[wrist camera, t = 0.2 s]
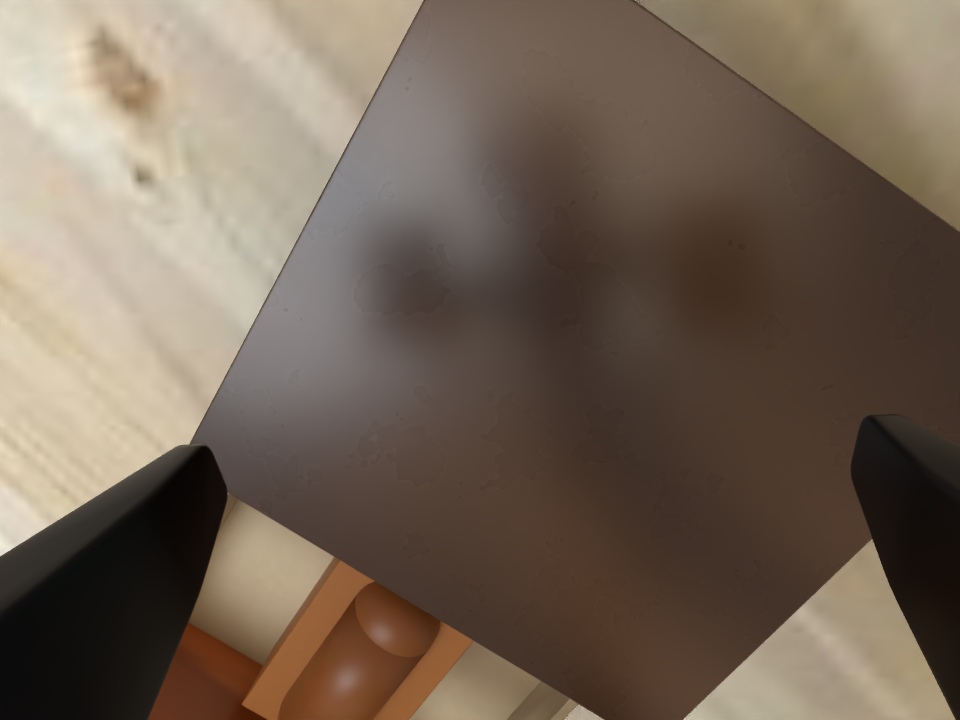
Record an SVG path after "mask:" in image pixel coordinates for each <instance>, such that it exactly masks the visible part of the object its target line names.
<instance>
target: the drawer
mask: <svg viewBox="0 0 960 720" xmlns="http://www.w3.org/2000/svg"><path fill="white" fill-rule="evenodd" d="M333 558H334V556H332V555H330V554H329V553H327V552H325V551H324V550H322V549H320V548H319V547H317V546H315V545H314V544H312V543H311V542H309V541H307V540H306V539H304V538H302V537H301V536H299V535H297V534H296V533H294V532H292V531H291V530H289V529H287V528H286V527H284V526H282V525H281V524H279V523H277V522H276V521H274V520H272V519H271V518H269V517H267V516H266V515H264V514H262V513H261V512H259V511H257V510H256V509H254V508H252V507H251V506H249V505H247V504H246V503H244V502H242V501H241V500H239V499H237V498H236V497H234V496H232V495H231V494H229V493H228V498H227V504H226V507H225V511H224V514H223V517H222V521H221V524H220V528H219V531H218V534H217V538H216V541H215V545H214V548H213V551H212V555H211V558H210V562H209V565H208V568H207V572H206V575H205V579H204V582H203V585H202V588H201V591H200V594H199V597H198V599H197V602H196V604H195V607H194V610H193V612H192V615H191V617H190V619H189V622H188V624H187V627H186V629H185V632H184V634H183V636H182V639H181V641H180V644H179V646H178V648H177V651H176V653H175V656H174V658H173V660H172V663H171V665H170V668H169V670H168V673H167V675H166V677H165V680H164V682H163V685H162V687H161V689H160V692H159V694H158V697H157V699H156V702H155V704H154V706H153V709H152V711H151V714H150V716H149V718H148V720H267V719H266V718H264V717H262V716H260V715H259V714H257V713H255V712H253V711H252V710H250V709H248V708H246V707H245V706H243V705H242V702H243V700H244V699H245V697H246V695H247V693H248V692H249V690H250V688H251V686H252V684H253V683H254V681H255V679H256V677H257V676H258V674H259V672H260V670H261V668H262V667H263V665H264V663H265V661H266V660H267V658H268V656H269V654H270V653H271V651H272V649H273V647H274V645H275V644H276V643H277V641H278V640H279V638H280V637H281V635H282V634H283V632H284V631H285V629H286V628H287V626H288V625H289V623H290V622H291V620H292V619H293V617H294V616H295V614H296V613H297V611H298V610H299V608H300V607H301V605H302V604H303V602H304V601H305V599H306V598H307V597H308V595H309V594H310V592H311V591H312V589H313V588H314V586H315V585H316V583H317V582H318V580H319V579H320V577H321V576H322V574H323V573H324V571H325V570H326V568H327V567H328V565H329V564H330V562H331V561H332V559H333ZM577 705H578V703H576V702H575V701H573V700H571V699H570V698H568V697H566V696H565V695H563V694H561V693H560V692H558V691H556V690H555V689H553V688H551V687H550V686H548V685H546V684H545V683H543V682H541V681H540V680H538V679H536V678H535V677H533V676H531V675H530V674H528V673H526V672H525V671H523V670H521V669H520V668H518V667H516V666H515V665H513V664H511V663H510V662H508V661H506V660H505V659H503V658H501V657H500V656H498V655H496V654H495V653H493V652H491V651H490V650H488V649H487V648H485V647H483V646H482V645H480V644H478V643H477V642H475V641H473V643H472V644H471V645H470V646H469V647H468V649H467V650H466V651H465V652H464V654H463V655H462V656H461V657H460V658H459V660H458V661H457V662H456V663H455V664H454V666H453V667H452V668H451V669H450V671H449V672H448V673H447V674H446V675H445V677H444V678H443V679H442V680H441V681H440V683H439V684H438V685H437V686H436V688H435V689H434V690H433V691H432V692H431V694H430V695H429V696H428V697H427V698H426V700H425V701H424V702H423V703H422V705H421V706H420V707H419V708H418V709H417V711H416V712H415V713H414V714H413V715H412V717H411V718H410V719H409V720H564V718H565V717H566V716H567V715H568V714H569V713H570V712H571V711H572V710H573V709H574V708H575V707H576V706H577Z"/></svg>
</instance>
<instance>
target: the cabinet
mask: <svg viewBox="0 0 960 720" xmlns="http://www.w3.org/2000/svg"><path fill="white" fill-rule="evenodd" d="M881 414H899V415H903V416H905V417H907V418H909V419H911V420H913V421H914V422H916V423H918V424H920V425H922V426H924V427H926V428H928V429H930V430H932V431H934V432H936V433H937V434H939V435H941V436H943V437H945V438H947V439H949V440H951V441H953V442H955V443H957V444H959V445H960V231H958V230H957V229H955V228H954V227H953V226H951V225H950V224H948V223H947V222H945V221H944V220H943V219H941V218H940V217H938V216H937V215H936V214H934V213H933V212H931V211H930V210H929V209H927V208H926V207H924V206H923V205H922V204H920V203H919V202H917V201H916V200H915V199H913V198H912V197H910V196H909V195H907V194H906V193H905V192H903V191H902V190H900V189H899V188H898V187H896V186H895V185H893V184H892V183H891V182H889V181H888V180H886V179H885V178H884V177H882V176H881V175H879V174H878V173H877V172H875V171H874V170H872V169H871V168H870V167H868V166H867V165H865V164H864V163H862V162H861V161H860V160H858V159H857V158H855V157H854V156H853V155H851V154H850V153H848V152H847V151H846V150H844V149H843V148H841V147H840V146H839V145H837V144H836V143H834V142H833V141H832V140H830V139H829V138H827V137H826V136H824V135H823V134H822V133H820V132H819V131H817V130H816V129H815V128H813V127H812V126H810V125H809V124H808V123H806V122H805V121H803V120H802V119H801V118H799V117H798V116H796V115H795V114H794V113H792V112H791V111H789V110H788V109H786V108H785V107H784V106H782V105H781V104H779V103H778V102H777V101H775V100H774V99H772V98H771V97H770V96H768V95H767V94H765V93H764V92H763V91H761V90H760V89H758V88H757V87H756V86H754V85H753V84H751V83H750V82H749V81H747V80H746V79H744V78H743V77H741V76H740V75H739V74H737V73H736V72H734V71H733V70H732V69H730V68H729V67H727V66H726V65H725V64H723V63H722V62H720V61H719V60H718V59H716V58H715V57H713V56H712V55H711V54H709V53H708V52H706V51H705V50H703V49H702V48H701V47H699V46H698V45H696V44H695V43H694V42H692V41H691V40H689V39H688V38H687V37H685V36H684V35H682V34H681V33H680V32H678V31H677V30H675V29H674V28H673V27H671V26H670V25H668V24H667V23H666V22H664V21H663V20H661V19H660V18H658V17H657V16H656V15H654V14H653V13H651V12H650V11H649V10H647V9H646V8H644V7H643V6H642V5H640V4H639V3H637V2H636V1H635V0H424V1H423V3H422V4H421V6H420V8H419V10H418V12H417V14H416V16H415V18H414V20H413V21H412V23H411V25H410V27H409V29H408V31H407V33H406V35H405V37H404V39H403V40H402V42H401V44H400V46H399V48H398V50H397V52H396V54H395V56H394V57H393V59H392V61H391V63H390V65H389V67H388V69H387V71H386V73H385V75H384V76H383V78H382V80H381V82H380V84H379V86H378V88H377V90H376V92H375V93H374V95H373V97H372V99H371V101H370V103H369V105H368V107H367V109H366V111H365V112H364V114H363V116H362V118H361V120H360V122H359V124H358V126H357V128H356V129H355V131H354V133H353V135H352V137H351V139H350V141H349V143H348V145H347V147H346V148H345V150H344V152H343V154H342V156H341V158H340V160H339V162H338V164H337V165H336V167H335V169H334V171H333V173H332V175H331V177H330V179H329V181H328V183H327V184H326V186H325V188H324V190H323V192H322V194H321V196H320V198H319V200H318V202H317V203H316V205H315V207H314V209H313V211H312V213H311V215H310V217H309V219H308V220H307V222H306V224H305V226H304V228H303V230H302V232H301V234H300V236H299V238H298V239H297V241H296V243H295V245H294V247H293V249H292V251H291V253H290V255H289V256H288V258H287V260H286V262H285V264H284V266H283V268H282V270H281V272H280V274H279V275H278V277H277V279H276V281H275V283H274V285H273V287H272V289H271V291H270V292H269V294H268V296H267V298H266V300H265V302H264V304H263V306H262V308H261V310H260V311H259V313H258V315H257V317H256V319H255V321H254V323H253V325H252V327H251V328H250V330H249V332H248V334H247V336H246V338H245V340H244V342H243V344H242V346H241V347H240V349H239V351H238V353H237V355H236V357H235V359H234V361H233V363H232V364H231V366H230V368H229V370H228V372H227V374H226V376H225V378H224V380H223V382H222V383H221V385H220V387H219V389H218V391H217V393H216V395H215V397H214V399H213V400H212V402H211V404H210V406H209V408H208V410H207V412H206V414H205V416H204V418H203V419H202V421H201V423H200V425H199V427H198V429H197V431H196V433H195V435H194V436H193V438H192V440H191V442H190V444H189V445H194V444H204V445H207V446H208V447H209V448H210V449H211V450H212V452H213V454H214V456H215V459H216V461H217V464H218V466H219V469H220V471H221V473H222V476H223V478H224V481H225V483H226V486H227V491H228V493H229V494H231V495H232V496H234V497H236V498H237V499H239V500H241V501H242V502H244V503H246V504H247V505H249V506H251V507H252V508H254V509H256V510H257V511H259V512H261V513H262V514H264V515H266V516H267V517H269V518H271V519H272V520H274V521H276V522H277V523H279V524H281V525H282V526H284V527H286V528H287V529H289V530H291V531H292V532H294V533H296V534H297V535H299V536H301V537H302V538H304V539H306V540H307V541H309V542H311V543H312V544H314V545H315V546H317V547H319V548H320V549H322V550H324V551H325V552H327V553H329V554H330V555H332V556H334V557H335V558H337V559H339V560H340V561H342V562H344V563H345V564H347V565H349V566H350V567H352V568H354V569H355V570H357V571H359V572H360V573H362V574H364V575H365V576H367V577H369V578H370V579H372V580H374V581H375V582H377V583H379V584H380V585H382V586H384V587H385V588H387V589H389V590H390V591H392V592H394V593H395V594H397V595H399V596H400V597H402V598H403V599H405V600H407V601H408V602H410V603H412V604H413V605H415V606H417V607H418V608H420V609H422V610H423V611H425V612H427V613H428V614H430V615H432V616H433V617H435V618H437V619H438V620H440V621H442V622H443V623H445V624H447V625H448V626H450V627H452V628H453V629H455V630H457V631H458V632H460V633H462V634H463V635H465V636H467V637H468V638H470V639H472V640H473V641H475V642H477V643H478V644H480V645H482V646H483V647H485V648H487V649H488V650H490V651H491V652H493V653H495V654H496V655H498V656H500V657H501V658H503V659H505V660H506V661H508V662H510V663H511V664H513V665H515V666H516V667H518V668H520V669H521V670H523V671H525V672H526V673H528V674H530V675H531V676H533V677H535V678H536V679H538V680H540V681H541V682H543V683H545V684H546V685H548V686H550V687H551V688H553V689H555V690H556V691H558V692H560V693H561V694H563V695H565V696H566V697H568V698H570V699H571V700H573V701H575V702H576V703H578V704H579V705H581V706H583V707H584V708H586V709H588V710H589V711H591V712H593V713H594V714H596V715H598V716H599V717H601V718H603V719H604V720H683V719H684V718H685V717H686V716H687V715H688V714H689V713H690V712H691V711H692V710H693V709H694V708H695V707H696V706H697V705H698V704H700V703H701V702H702V701H703V700H704V699H705V698H706V697H707V696H708V695H709V694H710V693H711V692H712V691H713V690H714V689H715V688H716V687H717V686H718V685H719V684H720V683H721V682H723V681H724V680H725V679H726V678H727V677H728V676H729V675H730V674H731V673H732V672H733V671H734V670H735V669H736V668H737V667H738V666H739V665H740V664H741V663H742V662H743V661H745V660H746V659H747V658H748V657H749V656H750V655H751V654H752V653H753V652H754V651H755V650H756V649H757V648H758V647H759V646H760V645H761V644H762V643H763V642H764V641H765V640H766V639H768V638H769V637H770V636H771V635H772V634H773V633H774V632H775V631H776V630H777V629H778V628H779V627H780V626H781V625H782V624H783V623H784V622H785V621H786V620H787V619H788V618H789V617H791V616H792V615H793V614H794V613H795V612H796V611H797V610H798V609H799V608H800V607H801V606H802V605H803V604H804V603H805V602H806V601H807V600H808V599H809V598H810V597H811V596H812V595H814V594H815V593H816V592H817V591H818V590H819V589H820V588H821V587H822V586H823V585H824V584H825V583H826V582H827V581H828V580H829V579H830V578H831V577H832V576H833V575H834V574H835V573H837V572H838V571H839V570H840V569H841V568H842V567H843V566H844V565H845V564H846V563H847V562H848V561H849V560H850V559H851V558H852V557H853V556H854V555H855V554H856V553H857V552H858V551H860V550H861V549H862V548H863V547H864V546H865V545H866V544H867V543H868V542H869V541H870V540H871V539H872V536H871V533H870V530H869V527H868V524H867V522H866V519H865V516H864V513H863V510H862V508H861V505H860V502H859V499H858V496H857V494H856V491H855V488H854V485H853V482H852V478H851V461H852V457H853V452H854V448H855V444H856V440H857V435H858V431H859V427H860V424H861V422H862V420H863V418H865V417H866V416H868V415H881Z"/></svg>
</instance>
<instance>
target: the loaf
mask: <svg viewBox="0 0 960 720" xmlns="http://www.w3.org/2000/svg"><path fill="white" fill-rule="evenodd" d="M472 643H473V640H472V639H470V638H468V637H467V636H465V635H463V634H462V633H460V632H458V631H457V630H455V629H453V628H452V627H450V626H448V625H447V624H445V623H443V622H442V621H440V620H438V619H437V618H435V617H433V616H432V615H430V614H428V613H427V612H425V611H423V610H422V609H420V608H418V607H417V606H415V605H413V604H412V603H410V602H408V601H407V600H405V599H403V598H402V597H400V596H399V595H397V594H395V593H394V592H392V591H390V590H389V589H387V588H385V587H384V586H382V585H380V584H379V583H377V582H375V581H374V580H372V579H370V578H369V577H367V576H365V575H364V574H362V573H360V572H359V571H357V570H355V569H354V568H352V567H350V566H349V565H347V564H345V563H344V562H342V561H340V560H339V559H337V558H335V557H334V558H333V559H332V561H331V562H330V564H329V565H328V567H327V568H326V570H325V571H324V573H323V574H322V576H321V577H320V579H319V580H318V582H317V583H316V585H315V586H314V588H313V589H312V591H311V592H310V594H309V595H308V597H307V598H306V599H305V601H304V602H303V604H302V605H301V607H300V608H299V610H298V611H297V613H296V614H295V616H294V617H293V619H292V620H291V622H290V623H289V625H288V626H287V628H286V629H285V631H284V632H283V634H282V635H281V637H280V638H279V640H278V641H277V643H276V644H275V645H274V647H273V649H272V651H271V653H270V654H269V656H268V658H267V660H266V661H265V663H264V665H263V667H262V668H261V670H260V672H259V674H258V676H257V677H256V679H255V681H254V683H253V684H252V686H251V688H250V690H249V692H248V693H247V695H246V697H245V699H244V700H243V702H242V705H243V706H245V707H246V708H248V709H250V710H252V711H253V712H255V713H257V714H259V715H260V716H262V717H264V718H266V719H267V720H409V719H410V718H411V717H412V715H413V714H414V713H415V712H416V711H417V709H418V708H419V707H420V706H421V705H422V703H423V702H424V701H425V700H426V698H427V697H428V696H429V695H430V694H431V692H432V691H433V690H434V689H435V688H436V686H437V685H438V684H439V683H440V681H441V680H442V679H443V678H444V677H445V675H446V674H447V673H448V672H449V671H450V669H451V668H452V667H453V666H454V664H455V663H456V662H457V661H458V660H459V658H460V657H461V656H462V655H463V654H464V652H465V651H466V650H467V649H468V647H469V646H470V645H471V644H472Z"/></svg>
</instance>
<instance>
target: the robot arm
mask: <svg viewBox="0 0 960 720" xmlns="http://www.w3.org/2000/svg"><path fill="white" fill-rule="evenodd" d="M851 478H852V482H853V485H854V488H855V491H856V494H857V496H858V499H859V502H860V505H861V508H862V510H863V513H864V516H865V519H866V522H867V524H868V527H869V530H870V533H871V536H872V538H873V541H874V544H875V547H876V550H877V552H878V555H879V558H880V561H881V564H882V566H883V569H884V572H885V574H886V577H887V579H888V582H889V585H890V587H891V589H892V591H893V593H894V596H895V598H896V600H897V602H898V604H899V606H900V608H901V610H902V612H903V614H904V616H905V618H906V620H907V622H908V624H909V626H910V628H911V630H912V632H913V634H914V637H915V639H916V641H917V643H918V645H919V647H920V649H921V651H922V653H923V655H924V657H925V659H926V661H927V663H928V665H929V667H930V669H931V671H932V673H933V675H934V677H935V679H936V681H937V683H938V685H939V687H940V689H941V691H942V693H943V695H944V697H945V699H946V701H947V703H948V705H949V707H950V709H951V711H952V713H953V715H954V717H955V719H956V720H960V445H959V444H957V443H955V442H953V441H951V440H949V439H947V438H945V437H943V436H941V435H939V434H937V433H936V432H934V431H932V430H930V429H928V428H926V427H924V426H922V425H920V424H918V423H916V422H914V421H913V420H911V419H909V418H907V417H905V416H903V415H899V414H881V415H868V416H866V417H865V418H863V420H862V422H861V424H860V427H859V431H858V435H857V440H856V444H855V448H854V452H853V457H852V461H851ZM227 498H228V491H227V486H226V483H225V481H224V478H223V476H222V473H221V471H220V469H219V466H218V464H217V461H216V459H215V456H214V454H213V452H212V450H211V449H210V448H209V447H208V446H207V445H204V444H194V445H180V446H177V447H175V448H173V449H172V450H170V451H169V452H167V453H165V454H164V455H162V456H161V457H159V458H157V459H156V460H154V461H153V462H151V463H149V464H148V465H146V466H145V467H143V468H141V469H140V470H138V471H137V472H135V473H133V474H132V475H130V476H129V477H127V478H125V479H124V480H122V481H121V482H119V483H117V484H116V485H114V486H112V487H111V488H109V489H108V490H106V491H104V492H103V493H101V494H100V495H98V496H96V497H95V498H93V499H92V500H90V501H88V502H87V503H85V504H84V505H82V506H80V507H79V508H77V509H76V510H74V511H72V512H71V513H69V514H68V515H66V516H64V517H63V518H61V519H60V520H58V521H56V522H55V523H53V524H52V525H50V526H48V527H47V528H45V529H44V530H42V531H40V532H39V533H37V534H36V535H34V536H32V537H31V538H29V539H28V540H26V541H24V542H23V543H21V544H20V545H18V546H16V547H15V548H13V549H12V550H10V551H8V552H7V553H5V554H4V555H2V556H0V720H148V718H149V716H150V714H151V711H152V709H153V706H154V704H155V702H156V699H157V697H158V694H159V692H160V689H161V687H162V685H163V682H164V680H165V677H166V675H167V673H168V670H169V668H170V665H171V663H172V660H173V658H174V656H175V653H176V651H177V648H178V646H179V644H180V641H181V639H182V636H183V634H184V632H185V629H186V627H187V624H188V622H189V619H190V617H191V615H192V612H193V610H194V607H195V604H196V602H197V599H198V597H199V594H200V591H201V588H202V585H203V582H204V579H205V575H206V572H207V568H208V565H209V562H210V558H211V555H212V551H213V548H214V545H215V541H216V538H217V534H218V531H219V528H220V524H221V521H222V517H223V514H224V511H225V507H226V504H227Z"/></svg>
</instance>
